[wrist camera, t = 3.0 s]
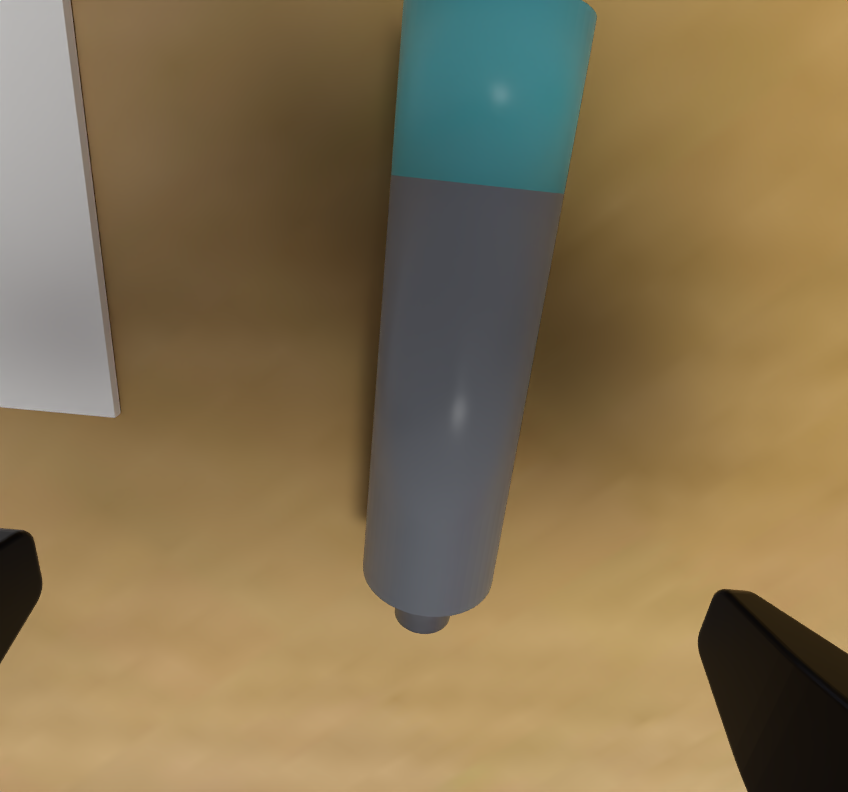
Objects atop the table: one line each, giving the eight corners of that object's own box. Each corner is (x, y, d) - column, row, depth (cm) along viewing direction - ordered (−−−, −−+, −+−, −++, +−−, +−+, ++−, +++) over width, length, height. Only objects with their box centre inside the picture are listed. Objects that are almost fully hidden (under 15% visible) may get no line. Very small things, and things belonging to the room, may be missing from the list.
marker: (437, 557, 18) (509, 632, 15) (338, 592, 16) (401, 685, 13) (506, 47, 12) (638, 22, 10) (368, 6, 11) (486, -38, 8)
